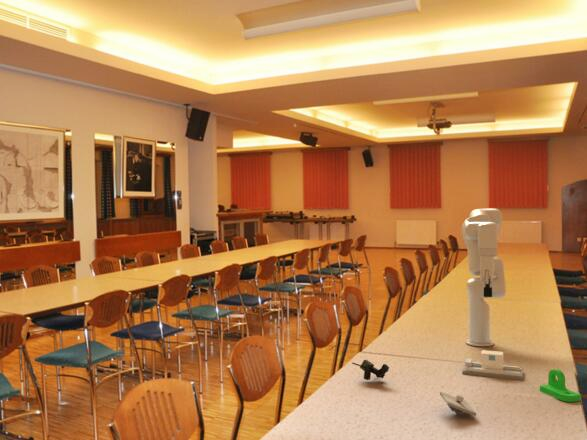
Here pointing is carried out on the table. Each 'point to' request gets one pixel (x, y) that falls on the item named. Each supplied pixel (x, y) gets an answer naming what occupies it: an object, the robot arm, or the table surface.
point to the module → (492, 360)
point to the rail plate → (492, 371)
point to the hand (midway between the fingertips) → (487, 296)
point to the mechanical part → (559, 387)
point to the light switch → (457, 404)
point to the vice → (372, 369)
